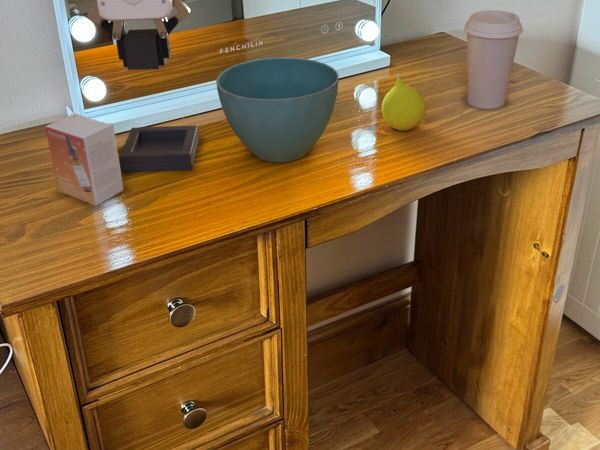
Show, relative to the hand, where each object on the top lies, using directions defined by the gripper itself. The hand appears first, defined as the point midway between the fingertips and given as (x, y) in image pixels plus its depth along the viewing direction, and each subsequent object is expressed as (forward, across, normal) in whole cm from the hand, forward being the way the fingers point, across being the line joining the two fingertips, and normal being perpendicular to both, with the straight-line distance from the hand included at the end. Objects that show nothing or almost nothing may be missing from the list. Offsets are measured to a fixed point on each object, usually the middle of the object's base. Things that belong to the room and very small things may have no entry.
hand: (145, 62), depth 111 cm
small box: (+16, -8, -10) cm, 21 cm away
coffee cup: (+16, +55, +18) cm, 60 cm away
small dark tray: (+16, 0, +1) cm, 16 cm away
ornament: (+16, +39, +8) cm, 43 cm away
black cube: (0, 0, 0) cm, 0 cm away
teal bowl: (+16, +19, +1) cm, 25 cm away
